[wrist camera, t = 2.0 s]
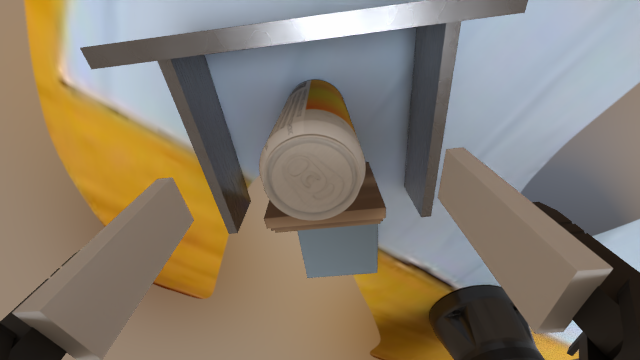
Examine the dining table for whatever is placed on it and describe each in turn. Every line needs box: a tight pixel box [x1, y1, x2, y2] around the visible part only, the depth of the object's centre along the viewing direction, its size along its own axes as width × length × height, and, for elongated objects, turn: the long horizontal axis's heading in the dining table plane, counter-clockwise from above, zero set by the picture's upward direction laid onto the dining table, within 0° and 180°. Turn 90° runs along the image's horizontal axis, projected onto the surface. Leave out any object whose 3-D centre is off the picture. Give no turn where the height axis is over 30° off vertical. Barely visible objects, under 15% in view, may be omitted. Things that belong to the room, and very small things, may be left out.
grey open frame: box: [80, 0, 528, 234], centre depth 22 cm, size 18×22×12 cm
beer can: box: [259, 80, 366, 221], centre depth 19 cm, size 6×6×15 cm
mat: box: [298, 224, 378, 278], centre depth 36 cm, size 11×11×1 cm
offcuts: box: [264, 162, 386, 232], centre depth 27 cm, size 4×11×9 cm, turn 96°
